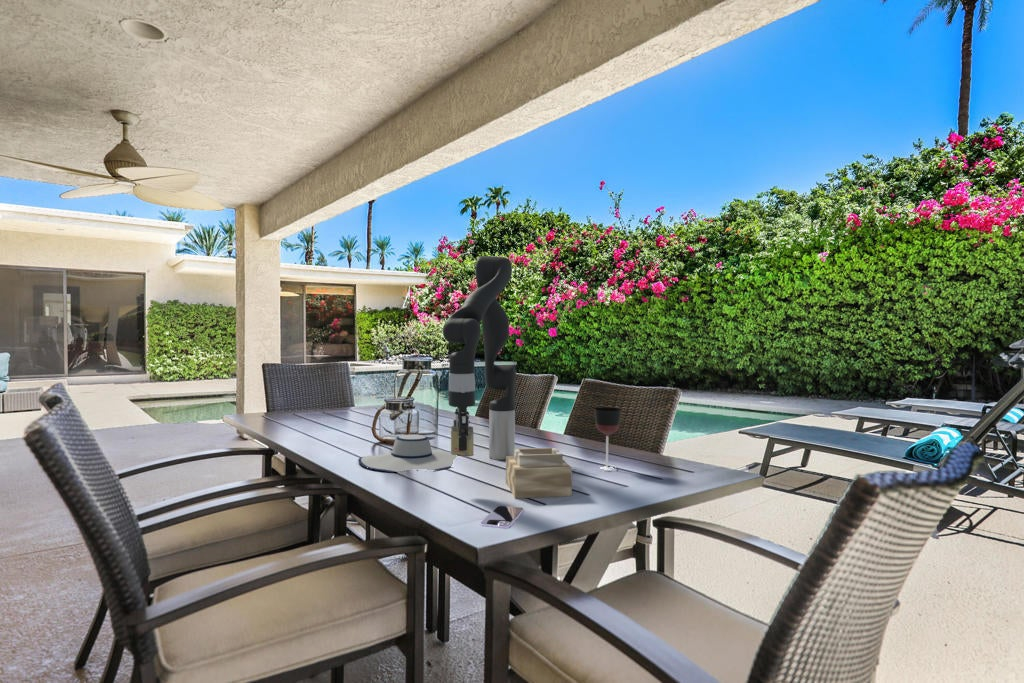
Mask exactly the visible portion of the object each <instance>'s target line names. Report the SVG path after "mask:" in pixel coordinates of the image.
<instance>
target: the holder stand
mask: <svg viewBox="0 0 1024 683" xmlns="http://www.w3.org/2000/svg"><path fill="white" fill-rule="evenodd" d="M563 456H564V455H563V453H562V452H561V451H559V450H558V449H557V448H556V447H532V448H531V447H529V448H515V449H514V456H507V457H506V459H505V484H506V483H507V484H506V485H507V487H508V489H509V488H510V489H509V490H510V492H511V494H512V495H513V498H514V499H526V498H527V499H531V498H552V497H553V498H554V497H572V492H573V490H572V489H573V488H572V487H573V486H572V485H573V484H572V482H573V481H572V479H573V475H572V474H573V470H572V469H573V468H572V466H571V465H569V463H567V462H566V461H565V460H564V459H563V458H564V457H563Z"/></svg>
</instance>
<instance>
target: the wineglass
mask: <svg viewBox="0 0 1024 683" xmlns="http://www.w3.org/2000/svg"><path fill="white" fill-rule="evenodd" d="M593 412H594V422H595V427H596V428H597V430H598V431H599V432H600V433H602V435H605V465H604V467H600V466H599V467H600V469H604V470H612V469H614V468H613V467H614V466H610V467H608V466H609V436H611V435H612V434H615V432H617V431H618V429H619V427H620V424H621V416H622V409H621V408H619V407H618V408H617V407H609V406H607V407H605V406H604V407H595V408H594V411H593Z"/></svg>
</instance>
